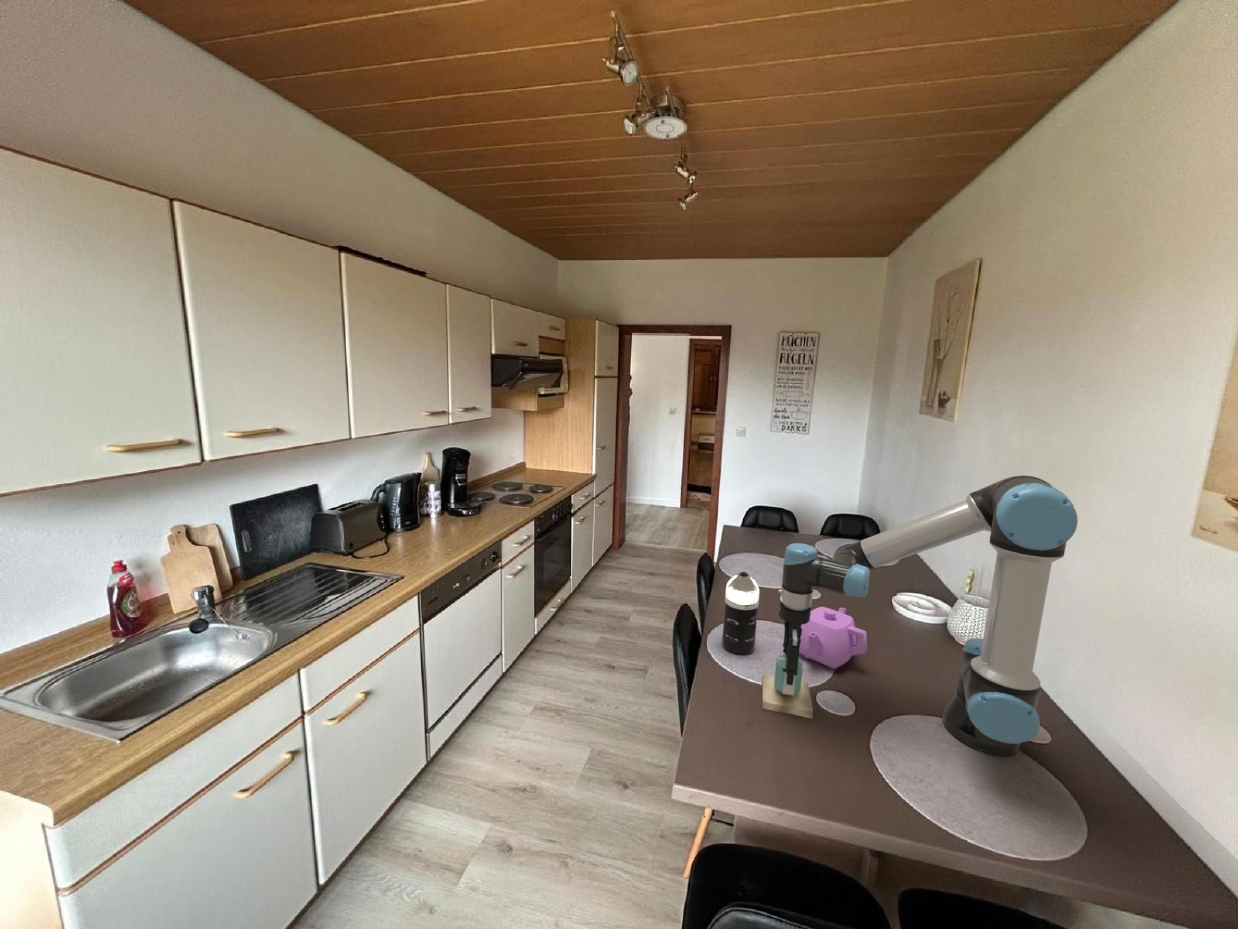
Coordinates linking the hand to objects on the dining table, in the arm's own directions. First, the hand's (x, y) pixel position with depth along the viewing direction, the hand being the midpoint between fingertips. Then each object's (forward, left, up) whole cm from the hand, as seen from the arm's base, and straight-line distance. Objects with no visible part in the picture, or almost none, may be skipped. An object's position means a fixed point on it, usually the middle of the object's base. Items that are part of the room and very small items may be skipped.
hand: (787, 685), depth 128 cm
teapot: (-13, -25, -4) cm, 28 cm away
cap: (0, 0, 0) cm, 0 cm away
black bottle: (+13, -22, -4) cm, 26 cm away
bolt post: (0, 0, -4) cm, 4 cm away
